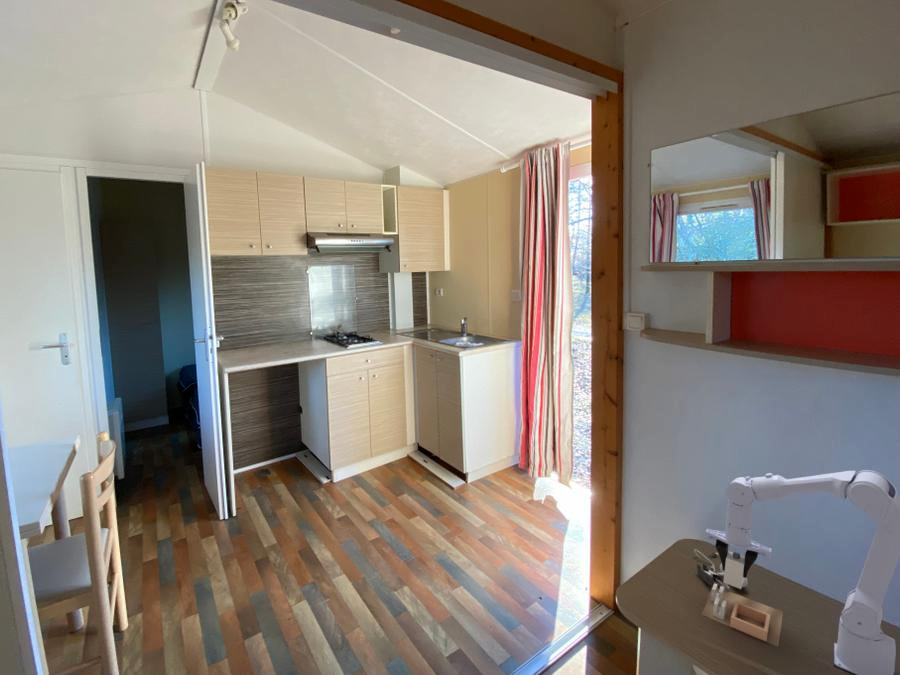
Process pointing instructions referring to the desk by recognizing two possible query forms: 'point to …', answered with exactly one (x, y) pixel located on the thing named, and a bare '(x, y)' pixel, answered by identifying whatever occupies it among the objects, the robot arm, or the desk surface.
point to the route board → (731, 599)
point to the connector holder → (748, 626)
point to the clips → (718, 602)
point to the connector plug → (734, 569)
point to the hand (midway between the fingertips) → (734, 572)
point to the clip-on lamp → (713, 573)
